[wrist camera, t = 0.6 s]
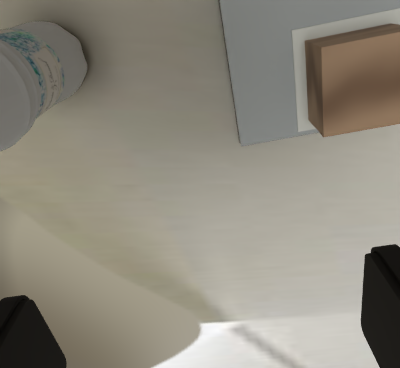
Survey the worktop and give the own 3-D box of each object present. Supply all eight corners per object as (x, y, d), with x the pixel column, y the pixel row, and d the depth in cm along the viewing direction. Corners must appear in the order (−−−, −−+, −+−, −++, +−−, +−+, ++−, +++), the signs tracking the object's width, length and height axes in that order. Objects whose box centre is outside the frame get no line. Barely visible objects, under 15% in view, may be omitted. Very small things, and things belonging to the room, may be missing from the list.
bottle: (91, 102, 33) (-31, 223, 15) (18, 87, 32) (-198, 195, 15) (97, 27, 30) (-47, 70, 12) (17, 8, 29) (-259, 25, 12)
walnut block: (304, 40, 29) (321, 47, 25) (390, 23, 29) (421, 27, 25) (308, 120, 32) (323, 137, 28) (385, 106, 32) (412, 121, 28)
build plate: (207, -76, 27) (208, -79, 25) (411, -124, 25) (422, -130, 24) (239, 141, 35) (241, 147, 34) (393, 114, 34) (401, 118, 32)
